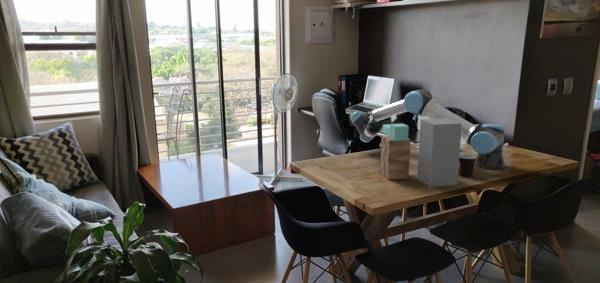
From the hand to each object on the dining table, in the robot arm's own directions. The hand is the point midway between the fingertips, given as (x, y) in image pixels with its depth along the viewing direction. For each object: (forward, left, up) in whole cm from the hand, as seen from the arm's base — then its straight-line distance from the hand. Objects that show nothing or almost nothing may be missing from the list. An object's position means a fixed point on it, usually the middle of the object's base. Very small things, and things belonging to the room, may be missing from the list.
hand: (384, 116), depth 243 cm
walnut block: (-9, +19, -27) cm, 34 cm away
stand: (-31, +21, -27) cm, 46 cm away
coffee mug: (-44, +5, -28) cm, 52 cm away
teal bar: (-8, +15, -7) cm, 19 cm away
